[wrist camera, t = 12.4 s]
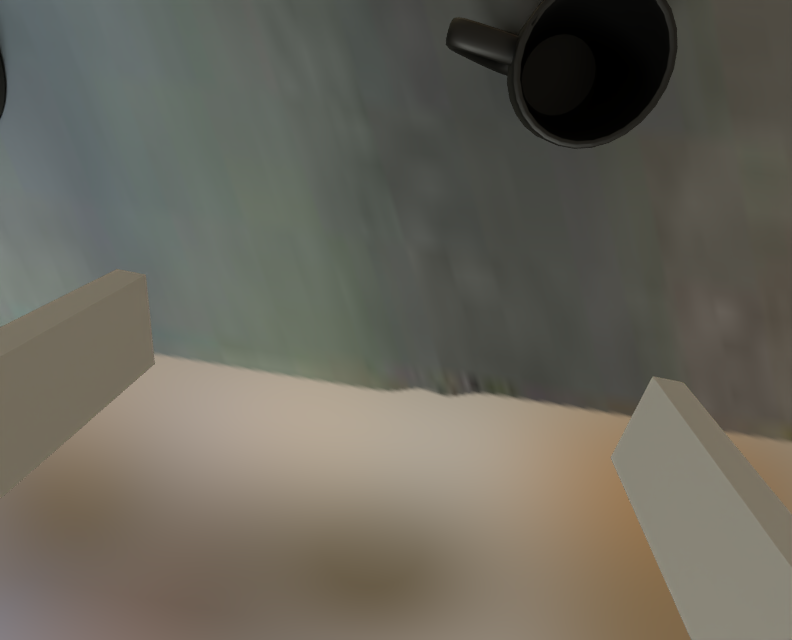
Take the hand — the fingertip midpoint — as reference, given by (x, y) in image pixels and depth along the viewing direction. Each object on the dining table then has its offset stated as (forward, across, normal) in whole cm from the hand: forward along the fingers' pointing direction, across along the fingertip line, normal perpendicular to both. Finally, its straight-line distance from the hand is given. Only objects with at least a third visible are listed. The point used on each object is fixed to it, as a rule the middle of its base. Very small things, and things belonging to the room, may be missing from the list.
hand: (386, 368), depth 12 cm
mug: (+28, +5, +9) cm, 30 cm away
